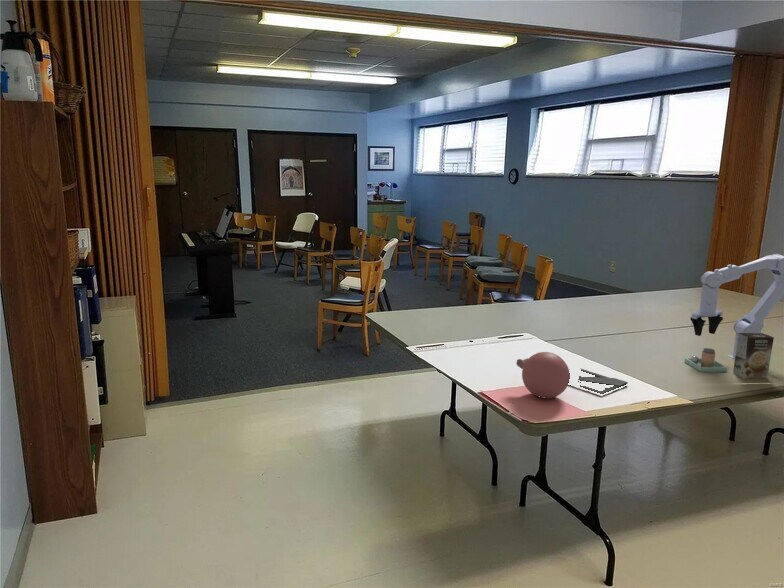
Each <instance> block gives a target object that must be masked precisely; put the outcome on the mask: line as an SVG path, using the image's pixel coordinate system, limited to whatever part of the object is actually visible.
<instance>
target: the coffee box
mask: <svg viewBox="0 0 784 588" xmlns="http://www.w3.org/2000/svg"><path fill="white" fill-rule="evenodd" d="M774 339H775V337H774V336H771V335H768V334H766V333H763V332H761V333H739V336H738V343H737V349H736V356H735V359H734V363H733V369H732V374H734V375H736V376H738V377H739V378H742V379H768V376H769V370H770V364H771V357H772V352H773V351H772V350H773V345H774Z"/></svg>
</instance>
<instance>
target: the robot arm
mask: <svg viewBox="0 0 784 588" xmlns="http://www.w3.org/2000/svg"><path fill="white" fill-rule="evenodd" d="M762 269H763V270H764V269H765V270H770V271H771V273H772V274H773V277H774V281H773V282H772V284H771V285H769V287H768V289H767V290H766V291H765V293H763V295H762V297H761V298H760V299H759V300H758V302H757V303H756V304H755V306H754V307H752V310H751V311H750V312H749V313H747V314H745V315H743V316H742V317H741V318H740V319H738V320H736V321H735V323H734V324H733V331H734V333H735V335H734V336H735V337H734V344H733V350H732V354H727V357H729V358H731V359H732V360H735V356H736V349H737V343H738V336H739V333H762V330H763V328H764V320H766V318H767V317H768V315H769V314H770V313H771V311H772V310H773V309H774V307H776V306H777V304H778V303H779V301H780V300H781V299H782V297H784V255H782V254H780V253H773V254H770V255H765V256H764V257H761V258H758V259H756V260H753V261H750V262H747V263H744V264H742V265H741V264H740V265H739V266H737V265H735V264H731V263H730V264H727V265H726V267H722V268H720V269H719V268H716V269H714V271H709V270H708V271H706V272H704V274H702V275H701V277H700V282H701V283H702V288H701V289H702V290H701V295H700V303H699V310H698V311H696V312H692V313H691V316H690V321H691V323H692V326H693V330H694V334H695V336H698V337H701V336H702V333H703V329H704V328H703V327H704V326H705V324H706V320H705V319H703V318H707V319H708V333H709V334H711V335H712V334H713V335H715V333H716V332H717V329H718V328H719V327H718V326H719V325H720V323H721V322H722V321H723V320H724V317H723V312H724V311H723V310H718V309H717V307H718V306H717V304H718V298H719V288H720V286H722V284H726V283H729V282H732V281H735V280H738V279H740V278H741V277H742V275H744V274H745V275H746V274H748V273H752V272H756V271H760V270H762Z"/></svg>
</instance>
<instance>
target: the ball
mask: <svg viewBox="0 0 784 588" xmlns="http://www.w3.org/2000/svg"><path fill="white" fill-rule="evenodd" d="M689 358H690V361H692V362H694V363H696V364H698V363H699V358H700V357H699V356H696V355H693V356H691V357H689Z"/></svg>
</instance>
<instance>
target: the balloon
mask: <svg viewBox="0 0 784 588" xmlns="http://www.w3.org/2000/svg"><path fill="white" fill-rule="evenodd" d="M515 364H516V366H517V367H518V368H520V369H521V377H522V382H523V385H524V386H525V388H526V389H527V390H528V392H529V393H531V394H532V395H533V394H534V395H533V396H535V395H536V396H535V397H537V396H540V397H545V398H544V399H552V397H553V398H556V397H559V396H560V395H561V394H562V393H563V392H564V391H565V390H566V389H567V388H568V386H569V385H568V383H569V379H570V373H569V370H570V369H569V366H568V364H567V363H566V361H565V360H564V359H563V358H562V357H561V356H559V355H558V354H556V353H554V352H549V351H539V352H536V353H535V354H532V355H531V356H530V357H527V358H525V359H521V358H519V359H517V360H516V363H515ZM540 397H539V398H540Z"/></svg>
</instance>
